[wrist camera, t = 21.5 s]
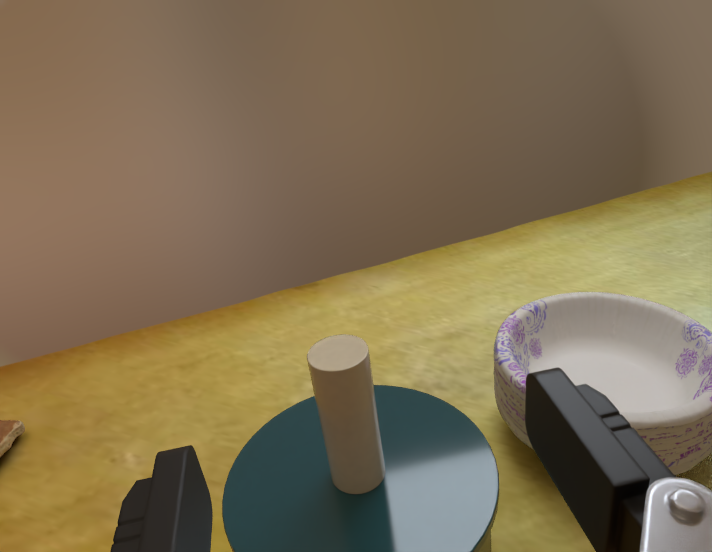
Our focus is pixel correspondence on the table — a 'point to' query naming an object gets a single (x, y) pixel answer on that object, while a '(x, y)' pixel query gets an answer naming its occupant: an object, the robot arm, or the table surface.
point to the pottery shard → (9, 434)
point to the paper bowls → (615, 366)
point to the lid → (361, 469)
